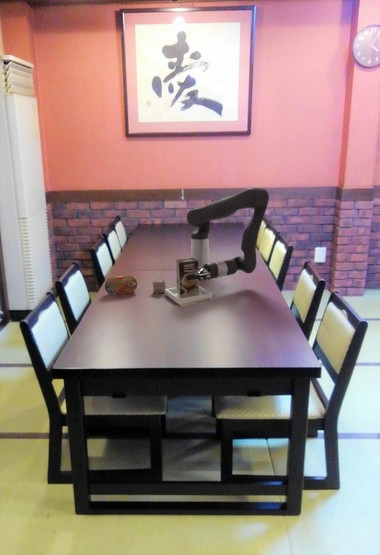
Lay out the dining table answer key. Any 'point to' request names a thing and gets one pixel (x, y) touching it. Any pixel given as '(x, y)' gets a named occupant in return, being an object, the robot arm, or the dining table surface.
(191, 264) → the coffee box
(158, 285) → the rounded taupe cylinder
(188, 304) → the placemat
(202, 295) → the dish
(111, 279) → the tin
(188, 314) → the dining table surface
